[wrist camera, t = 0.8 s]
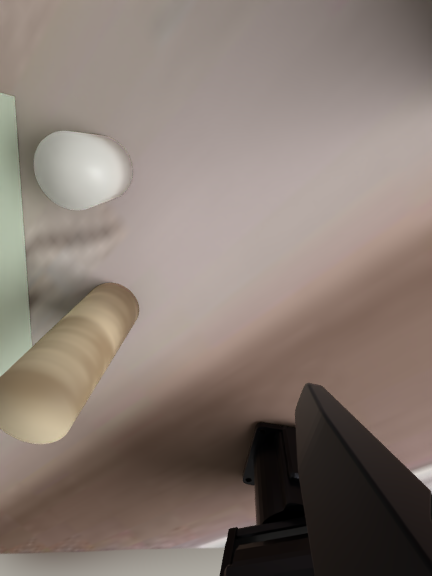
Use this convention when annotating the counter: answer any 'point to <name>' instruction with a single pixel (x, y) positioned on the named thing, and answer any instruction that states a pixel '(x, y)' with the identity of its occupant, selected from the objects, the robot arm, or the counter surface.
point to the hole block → (12, 245)
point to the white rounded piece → (81, 169)
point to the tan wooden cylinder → (65, 366)
